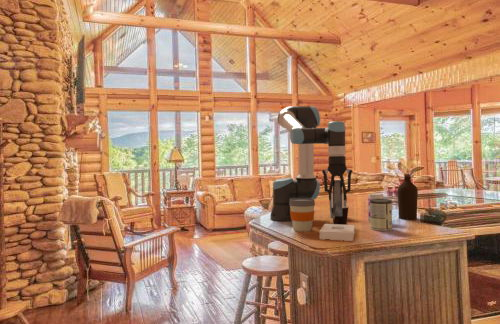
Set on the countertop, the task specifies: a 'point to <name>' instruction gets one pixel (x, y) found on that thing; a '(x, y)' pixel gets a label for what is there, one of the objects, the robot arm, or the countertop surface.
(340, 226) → the block with square hole
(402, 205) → the olive oil
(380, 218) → the coffee can
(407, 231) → the countertop surface
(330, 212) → the drinking glass
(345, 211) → the coffee mug
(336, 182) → the steel pin
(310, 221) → the reusable coffee cup
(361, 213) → the countertop surface
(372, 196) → the supplement can
